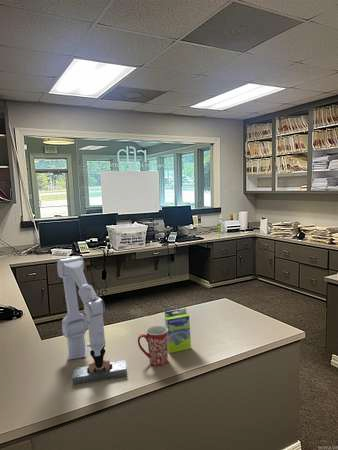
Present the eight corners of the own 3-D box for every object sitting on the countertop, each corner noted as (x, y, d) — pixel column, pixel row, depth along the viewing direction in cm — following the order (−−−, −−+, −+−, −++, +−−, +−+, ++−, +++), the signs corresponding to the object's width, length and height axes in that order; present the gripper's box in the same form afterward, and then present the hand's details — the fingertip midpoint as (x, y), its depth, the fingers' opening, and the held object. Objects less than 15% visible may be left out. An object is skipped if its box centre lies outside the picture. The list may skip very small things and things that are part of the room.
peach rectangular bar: (89, 376, 128) (88, 361, 128) (110, 372, 130) (109, 357, 129) (89, 379, 126) (88, 364, 125) (110, 375, 127) (109, 360, 127)
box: (169, 353, 142) (166, 315, 140) (166, 349, 145) (163, 311, 144) (191, 348, 145) (189, 310, 143) (188, 344, 149) (186, 307, 147)
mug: (170, 355, 140) (168, 324, 139) (169, 366, 131) (167, 334, 130) (140, 356, 141) (138, 326, 139) (138, 368, 132) (135, 335, 130)
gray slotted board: (74, 375, 129) (73, 368, 129) (125, 367, 133) (125, 359, 133) (73, 385, 122) (72, 378, 122) (127, 376, 126) (126, 368, 126)
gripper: (86, 325, 132) (89, 357, 134) (84, 341, 118) (88, 377, 119) (104, 323, 134) (107, 354, 135) (104, 338, 119) (107, 373, 121)
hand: (99, 365), depth 127 cm, fingers open, 3 cm apart
